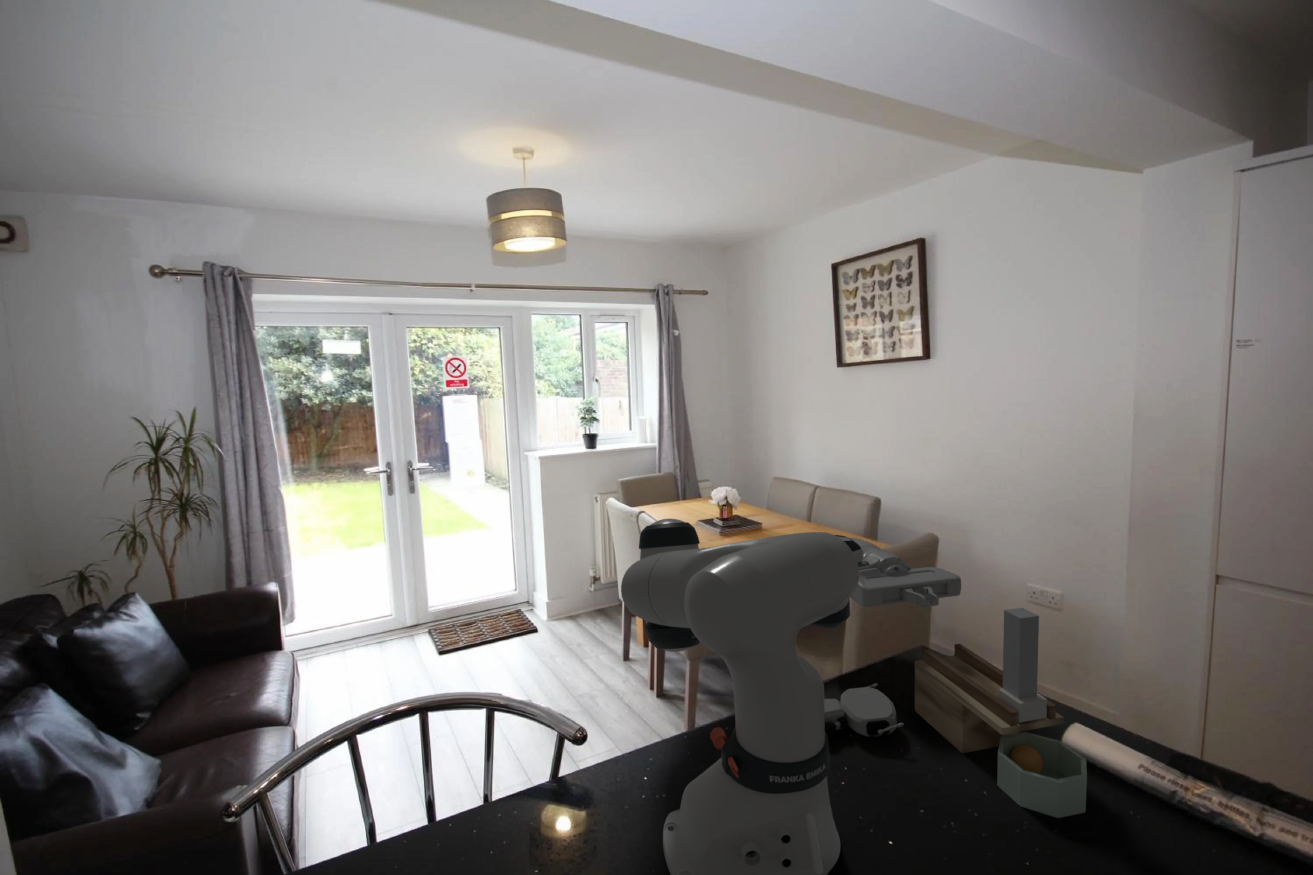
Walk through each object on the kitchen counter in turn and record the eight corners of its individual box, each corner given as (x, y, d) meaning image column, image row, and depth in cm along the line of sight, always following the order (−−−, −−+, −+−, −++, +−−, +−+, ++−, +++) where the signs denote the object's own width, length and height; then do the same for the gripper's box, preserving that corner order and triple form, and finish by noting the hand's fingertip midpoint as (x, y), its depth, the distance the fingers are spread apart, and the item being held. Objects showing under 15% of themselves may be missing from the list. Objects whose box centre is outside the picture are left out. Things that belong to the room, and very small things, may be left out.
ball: (1029, 781, 84) (1020, 749, 85) (1009, 776, 87) (1000, 745, 89) (1054, 776, 84) (1044, 744, 86) (1033, 771, 88) (1024, 741, 90)
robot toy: (813, 755, 96) (909, 746, 95) (810, 729, 95) (906, 719, 94) (797, 711, 108) (881, 703, 107) (794, 688, 107) (879, 679, 107)
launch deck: (1001, 788, 85) (1002, 714, 84) (914, 710, 105) (914, 650, 103) (1062, 775, 87) (1064, 703, 86) (966, 702, 106) (966, 642, 105)
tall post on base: (1019, 722, 85) (1021, 621, 83) (998, 707, 89) (999, 610, 87) (1046, 717, 85) (1049, 617, 84) (1024, 702, 89) (1026, 606, 88)
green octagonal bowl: (1038, 822, 79) (1039, 786, 78) (982, 771, 89) (982, 739, 88) (1104, 808, 80) (1106, 773, 80) (1042, 760, 90) (1043, 728, 90)
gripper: (933, 585, 122) (983, 612, 108) (840, 597, 118) (879, 626, 105) (934, 555, 121) (983, 578, 108) (839, 566, 117) (879, 591, 104)
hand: (931, 602), depth 106 cm, fingers closed
